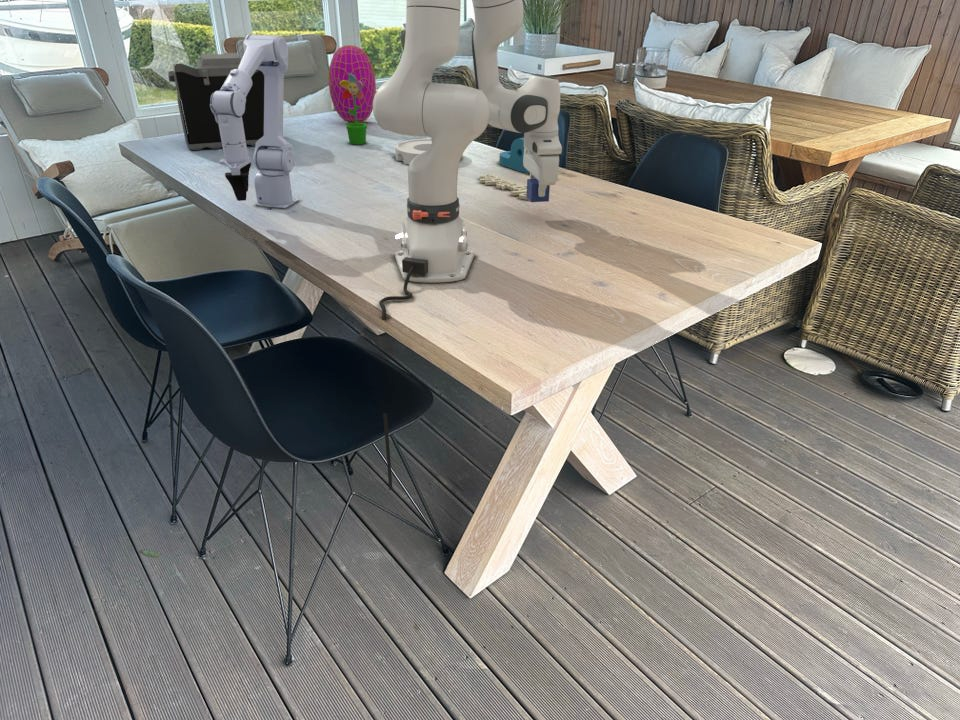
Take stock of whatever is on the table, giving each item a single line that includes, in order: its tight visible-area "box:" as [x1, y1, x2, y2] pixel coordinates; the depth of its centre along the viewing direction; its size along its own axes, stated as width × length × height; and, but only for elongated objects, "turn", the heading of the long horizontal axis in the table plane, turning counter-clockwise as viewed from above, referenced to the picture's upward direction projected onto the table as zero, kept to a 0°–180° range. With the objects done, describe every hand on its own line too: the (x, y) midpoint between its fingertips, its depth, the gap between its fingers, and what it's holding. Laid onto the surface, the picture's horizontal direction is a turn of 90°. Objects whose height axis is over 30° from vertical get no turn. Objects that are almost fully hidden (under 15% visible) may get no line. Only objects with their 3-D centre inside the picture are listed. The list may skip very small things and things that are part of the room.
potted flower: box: [339, 73, 368, 145], centre depth 255 cm, size 9×8×25 cm
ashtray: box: [394, 138, 432, 166], centre depth 243 cm, size 23×23×4 cm
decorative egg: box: [328, 44, 377, 124], centre depth 286 cm, size 19×19×30 cm
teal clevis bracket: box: [498, 137, 530, 175], centre depth 233 cm, size 18×10×10 cm, turn 39°
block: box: [526, 178, 551, 203], centre depth 186 cm, size 5×5×5 cm
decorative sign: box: [479, 173, 530, 201], centre depth 214 cm, size 26×1×10 cm
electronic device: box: [167, 52, 264, 151], centre depth 254 cm, size 37×22×30 cm, turn 111°
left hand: (242, 195), depth 178 cm, fingers open, 7 cm apart
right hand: (537, 192), depth 186 cm, fingers closed on block, 5 cm apart
